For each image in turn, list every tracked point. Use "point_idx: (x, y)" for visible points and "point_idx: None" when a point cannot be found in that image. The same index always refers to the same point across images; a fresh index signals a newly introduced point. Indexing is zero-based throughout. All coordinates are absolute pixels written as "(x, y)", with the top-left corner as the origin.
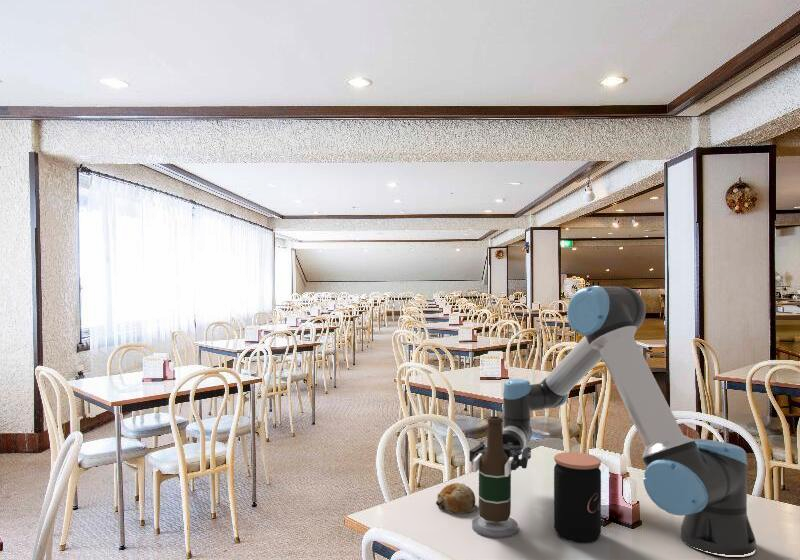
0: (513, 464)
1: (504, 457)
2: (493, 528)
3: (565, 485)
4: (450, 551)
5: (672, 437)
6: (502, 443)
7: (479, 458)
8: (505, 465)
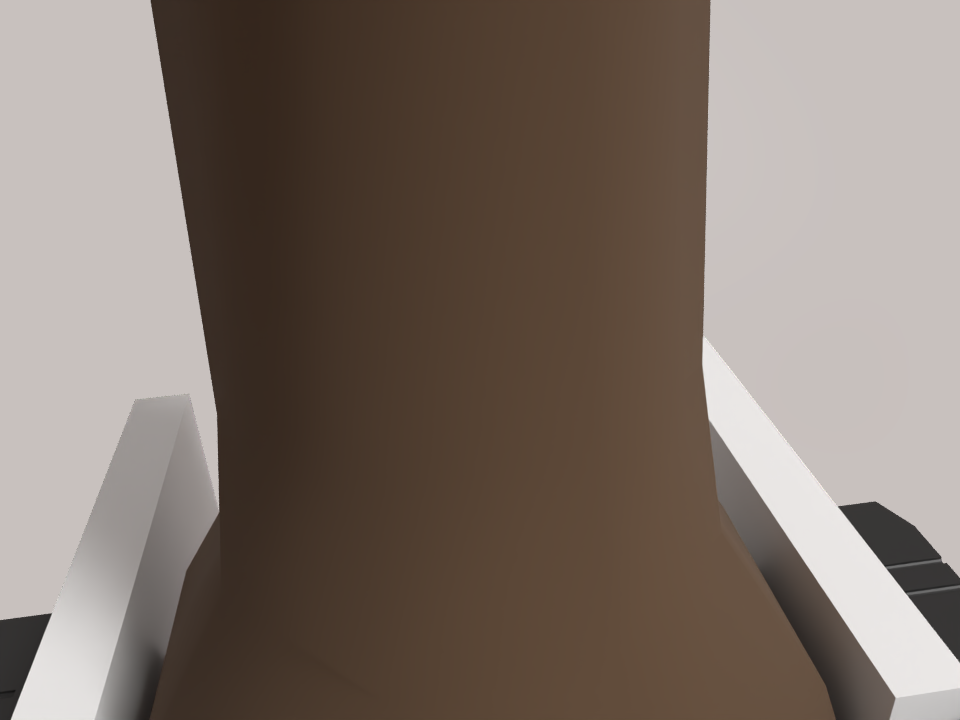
0: (31, 617)
1: (207, 533)
2: None
3: None
4: None
5: None
6: (216, 361)
7: (749, 507)
8: (178, 404)
